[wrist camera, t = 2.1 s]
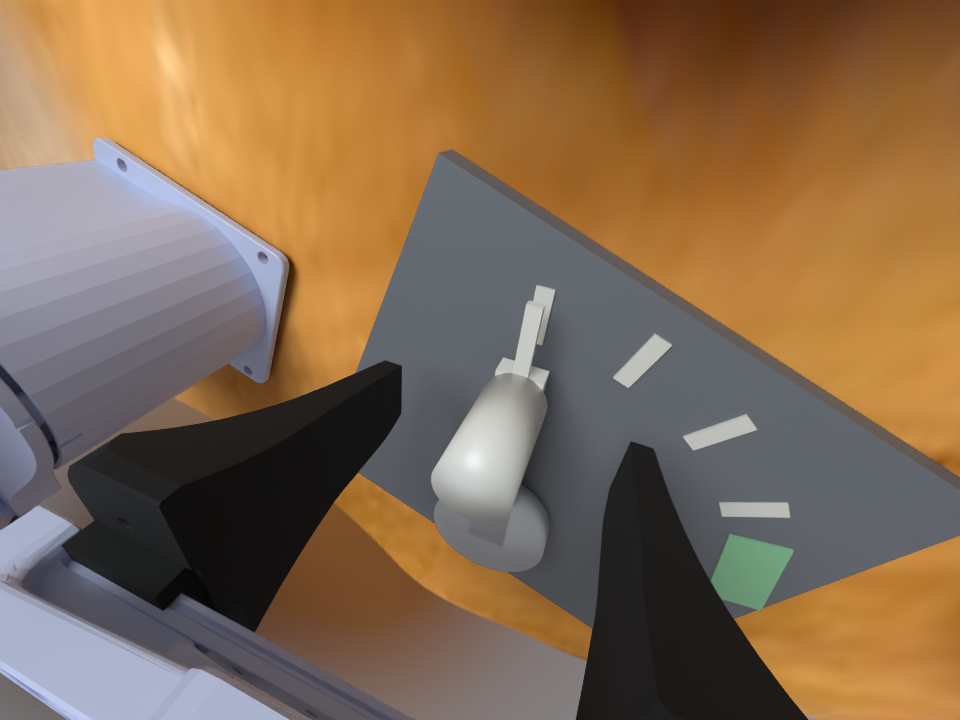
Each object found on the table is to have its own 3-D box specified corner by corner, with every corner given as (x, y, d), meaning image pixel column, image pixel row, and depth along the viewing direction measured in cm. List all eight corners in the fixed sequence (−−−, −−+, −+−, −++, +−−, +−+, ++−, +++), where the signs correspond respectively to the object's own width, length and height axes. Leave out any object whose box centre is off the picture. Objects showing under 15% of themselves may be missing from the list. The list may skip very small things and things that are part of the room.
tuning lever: (537, 563, 20) (505, 686, 16) (441, 523, 21) (387, 629, 17) (626, 312, 12) (609, 423, 8) (468, 271, 13) (380, 349, 9)
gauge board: (337, 438, 23) (325, 452, 22) (452, 149, 13) (437, 153, 12) (634, 635, 22) (633, 657, 21) (982, 492, 12) (1006, 522, 12)
